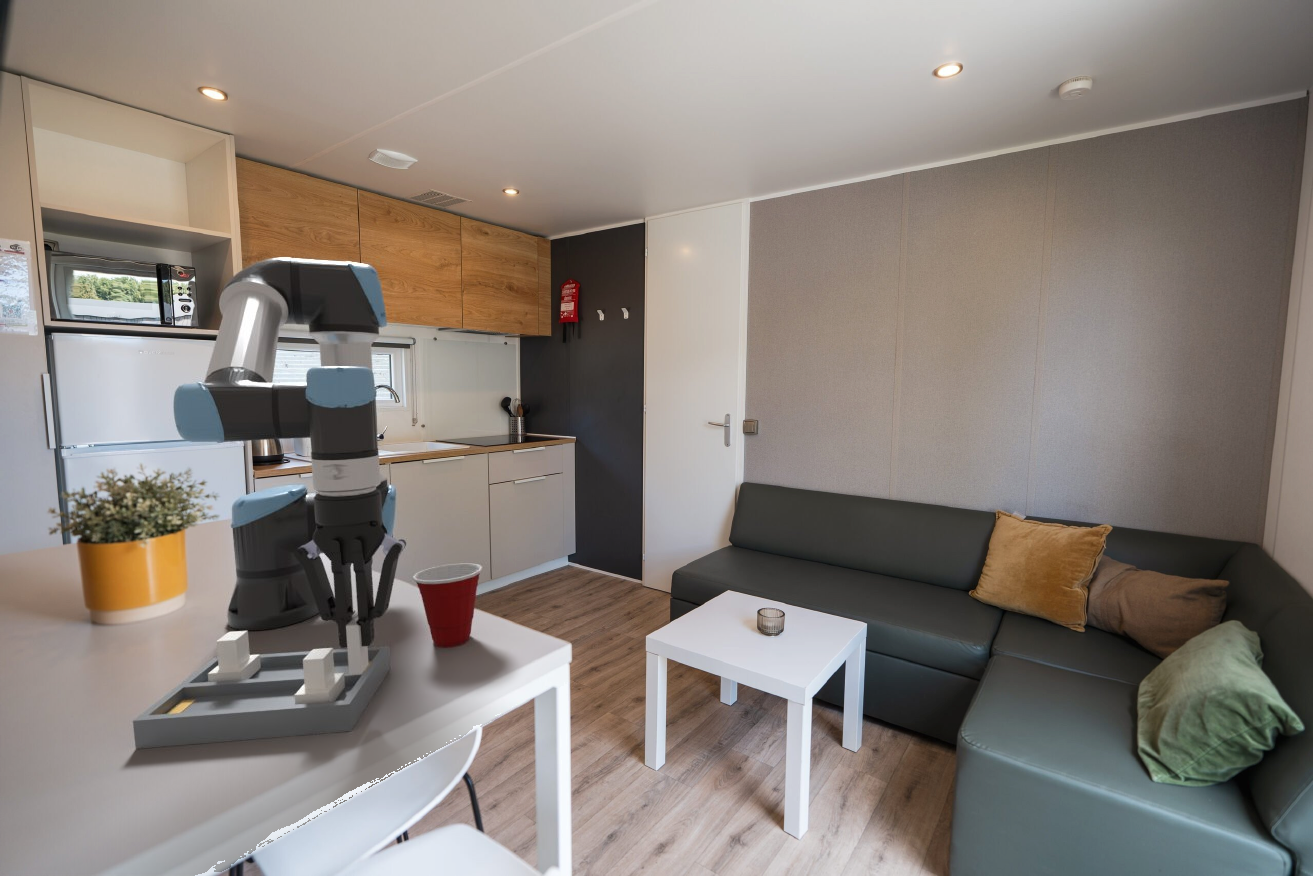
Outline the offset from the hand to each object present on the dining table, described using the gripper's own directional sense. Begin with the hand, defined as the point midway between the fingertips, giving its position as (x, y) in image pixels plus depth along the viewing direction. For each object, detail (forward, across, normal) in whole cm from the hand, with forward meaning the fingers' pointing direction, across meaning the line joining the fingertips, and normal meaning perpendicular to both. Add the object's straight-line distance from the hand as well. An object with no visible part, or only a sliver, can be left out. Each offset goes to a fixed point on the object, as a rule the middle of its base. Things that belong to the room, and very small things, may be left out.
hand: (358, 669), depth 77 cm
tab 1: (+4, -19, +8) cm, 20 cm away
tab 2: (+4, -5, 0) cm, 6 cm away
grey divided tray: (+6, -12, +4) cm, 14 cm away
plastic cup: (+6, +7, +21) cm, 23 cm away
